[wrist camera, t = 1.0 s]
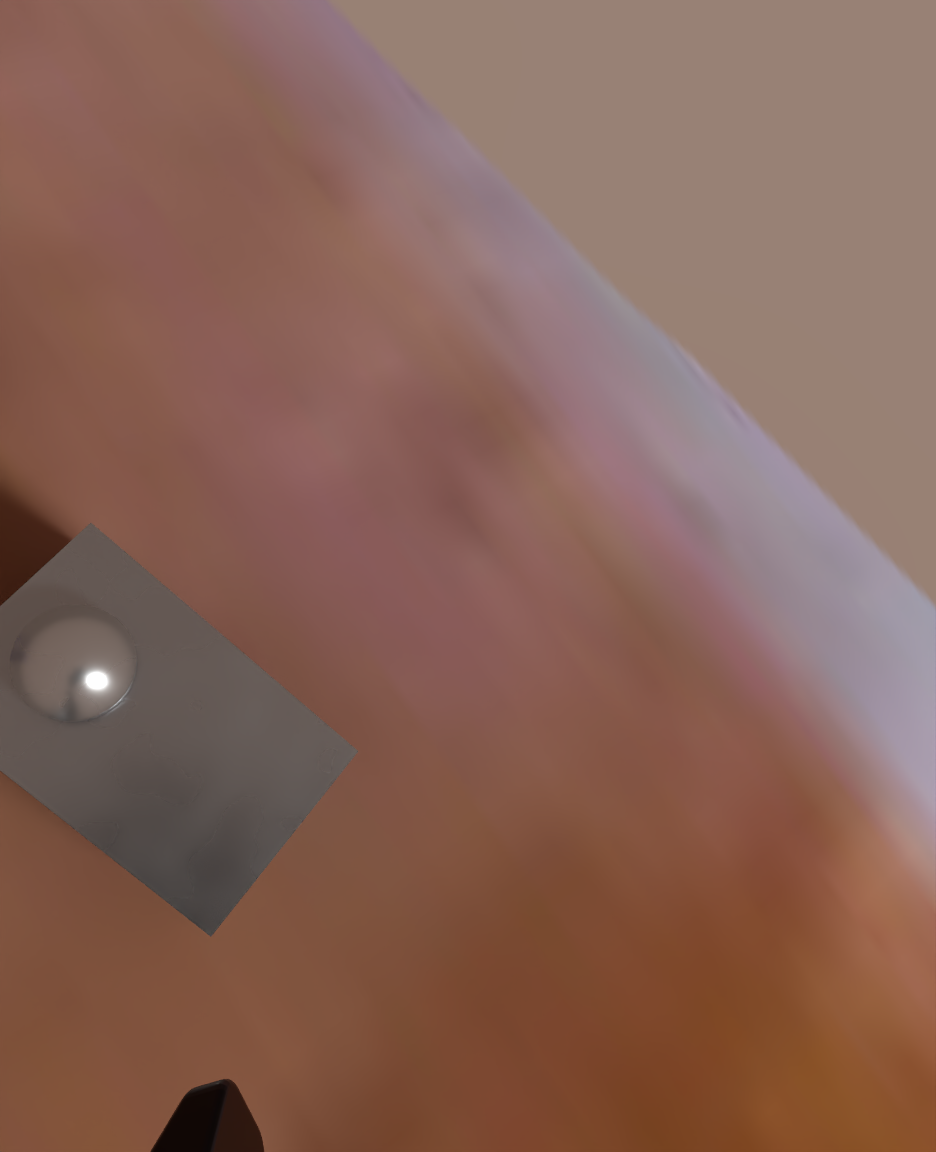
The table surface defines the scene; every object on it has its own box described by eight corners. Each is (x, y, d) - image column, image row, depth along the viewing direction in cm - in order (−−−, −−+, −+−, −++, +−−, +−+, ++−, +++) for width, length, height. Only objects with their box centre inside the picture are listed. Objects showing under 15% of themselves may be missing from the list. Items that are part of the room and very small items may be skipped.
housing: (198, 906, 22) (214, 944, 18) (-55, 706, 21) (-106, 692, 16) (324, 752, 24) (366, 751, 19) (98, 561, 23) (89, 513, 18)
